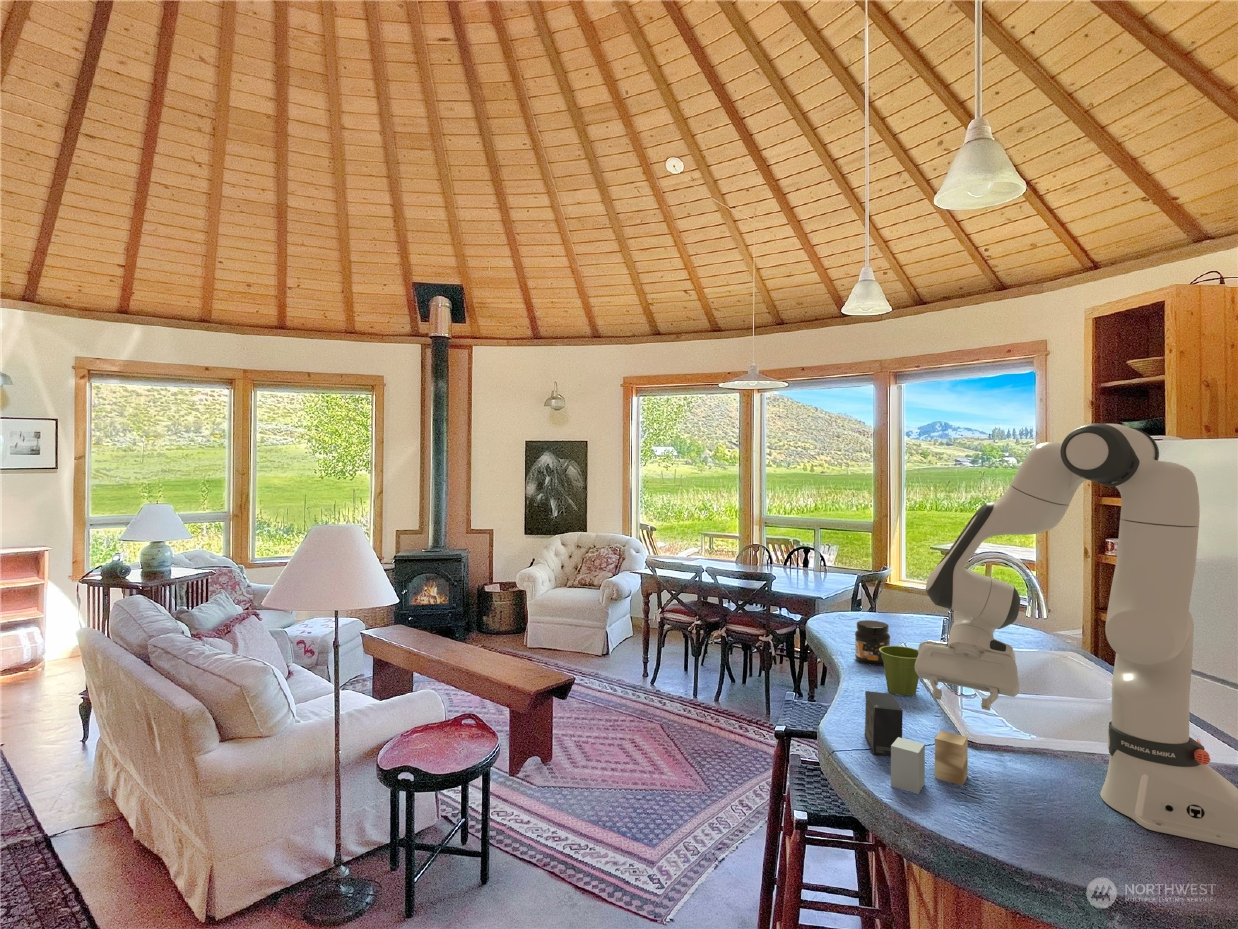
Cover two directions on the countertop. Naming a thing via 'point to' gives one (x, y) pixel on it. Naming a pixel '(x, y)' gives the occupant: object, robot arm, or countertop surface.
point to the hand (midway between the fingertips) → (960, 703)
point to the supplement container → (871, 641)
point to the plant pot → (900, 669)
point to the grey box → (908, 765)
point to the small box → (882, 721)
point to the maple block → (951, 757)
